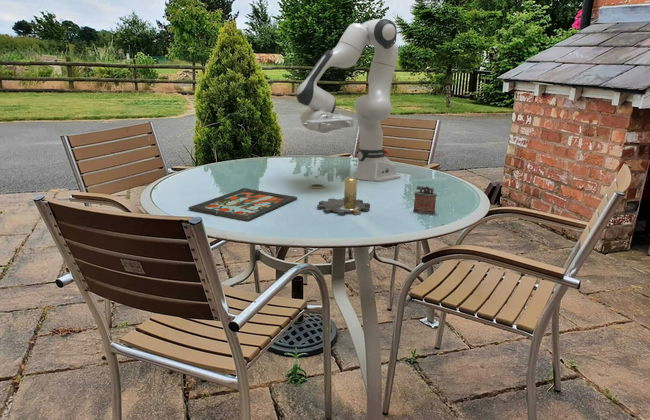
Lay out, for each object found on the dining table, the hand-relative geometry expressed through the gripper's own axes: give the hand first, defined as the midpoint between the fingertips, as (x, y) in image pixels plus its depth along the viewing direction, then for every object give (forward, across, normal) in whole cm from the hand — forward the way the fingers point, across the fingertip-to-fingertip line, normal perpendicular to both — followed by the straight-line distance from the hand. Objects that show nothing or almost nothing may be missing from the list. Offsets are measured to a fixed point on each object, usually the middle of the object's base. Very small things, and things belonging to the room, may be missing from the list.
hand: (339, 125), depth 195 cm
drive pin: (+23, -9, +27) cm, 37 cm away
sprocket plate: (+18, -9, +28) cm, 35 cm away
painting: (-2, -41, +28) cm, 50 cm away
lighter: (+36, +15, +30) cm, 49 cm away
